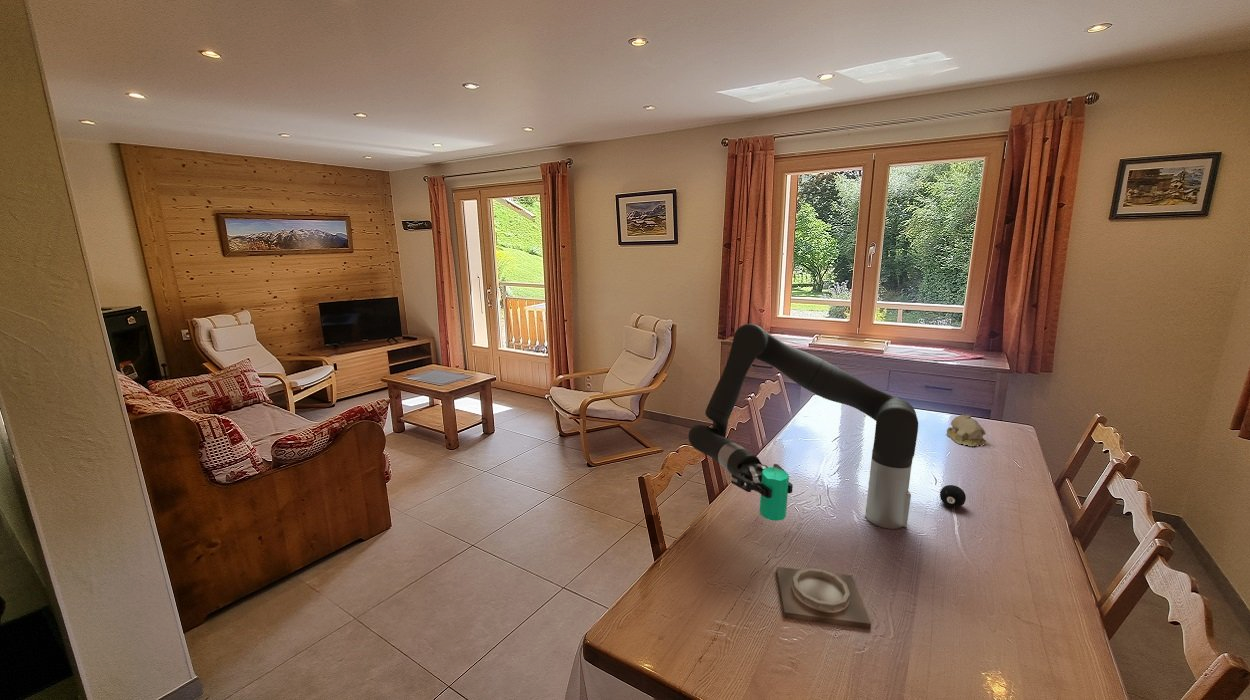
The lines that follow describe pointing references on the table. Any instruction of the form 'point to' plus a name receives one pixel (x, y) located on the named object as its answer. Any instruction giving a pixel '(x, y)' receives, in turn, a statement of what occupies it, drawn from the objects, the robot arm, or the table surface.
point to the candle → (774, 494)
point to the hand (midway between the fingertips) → (780, 491)
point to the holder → (821, 597)
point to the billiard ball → (952, 496)
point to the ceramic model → (966, 431)
